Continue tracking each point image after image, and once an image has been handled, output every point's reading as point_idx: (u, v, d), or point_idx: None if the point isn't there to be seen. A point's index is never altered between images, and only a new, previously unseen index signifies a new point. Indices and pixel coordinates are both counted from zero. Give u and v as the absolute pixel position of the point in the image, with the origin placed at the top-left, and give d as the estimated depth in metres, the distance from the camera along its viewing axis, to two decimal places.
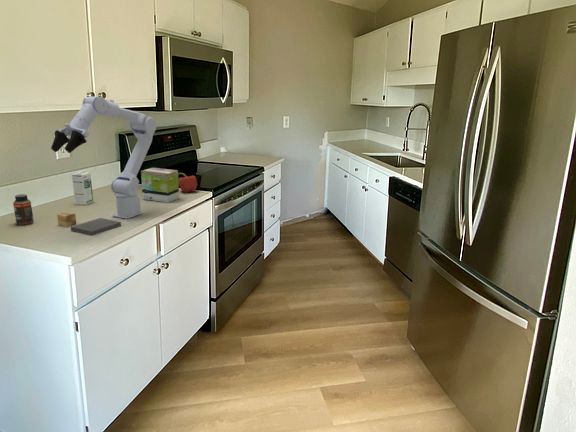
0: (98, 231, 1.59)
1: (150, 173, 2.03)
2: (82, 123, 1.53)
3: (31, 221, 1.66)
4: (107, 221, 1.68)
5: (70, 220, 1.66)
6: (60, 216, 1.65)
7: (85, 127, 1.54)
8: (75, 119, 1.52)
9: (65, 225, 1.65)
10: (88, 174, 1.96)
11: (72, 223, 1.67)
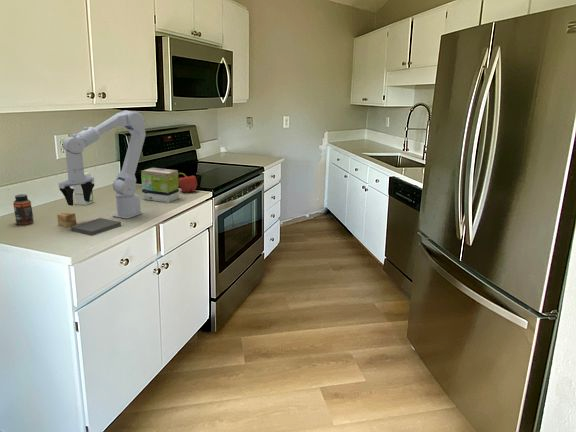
0: (98, 231, 1.59)
1: (150, 173, 2.03)
2: (68, 173, 1.61)
3: (31, 221, 1.66)
4: (107, 221, 1.68)
5: (70, 220, 1.66)
6: (60, 216, 1.65)
7: (71, 174, 1.61)
8: None
9: (65, 225, 1.65)
10: (88, 174, 1.96)
11: (72, 223, 1.67)
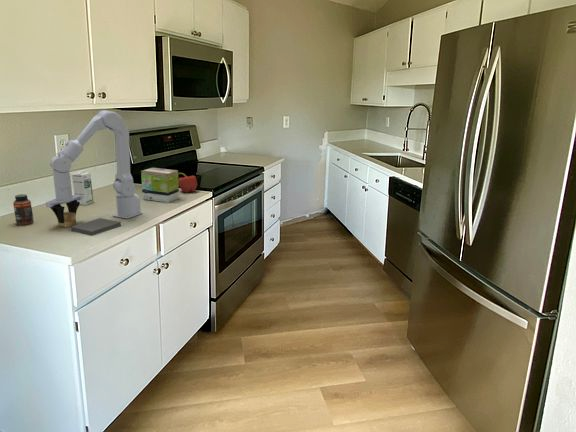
0: (98, 231, 1.59)
1: (150, 173, 2.03)
2: (55, 192, 1.62)
3: (31, 221, 1.66)
4: (107, 221, 1.68)
5: (70, 219, 1.66)
6: None
7: (59, 193, 1.61)
8: None
9: (65, 225, 1.65)
10: (88, 174, 1.96)
11: (72, 223, 1.67)
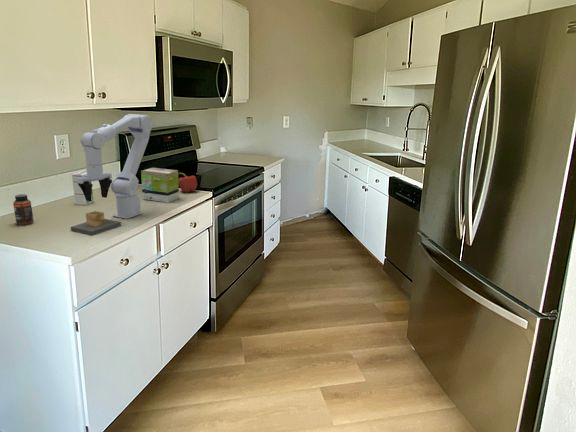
0: (98, 231, 1.59)
1: (150, 173, 2.03)
2: (87, 168, 1.61)
3: (31, 221, 1.66)
4: (107, 221, 1.68)
5: (99, 219, 1.62)
6: (89, 215, 1.61)
7: (90, 169, 1.60)
8: None
9: (94, 224, 1.61)
10: None
11: (101, 222, 1.64)
